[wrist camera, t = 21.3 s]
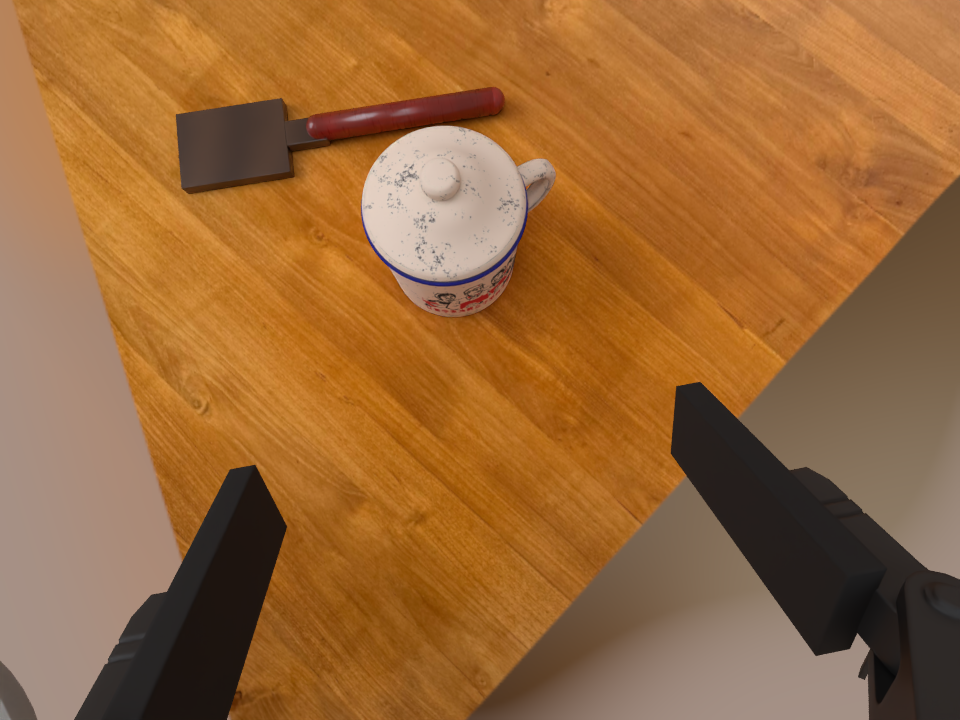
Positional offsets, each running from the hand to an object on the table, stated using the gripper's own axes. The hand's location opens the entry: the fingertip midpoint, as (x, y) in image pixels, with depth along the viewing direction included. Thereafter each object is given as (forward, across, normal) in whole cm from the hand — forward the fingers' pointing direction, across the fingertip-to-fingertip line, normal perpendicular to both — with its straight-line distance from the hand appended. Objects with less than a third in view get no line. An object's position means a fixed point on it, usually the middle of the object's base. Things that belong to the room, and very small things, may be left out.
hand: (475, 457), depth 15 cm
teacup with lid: (+22, +2, 0) cm, 22 cm away
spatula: (+29, -6, +9) cm, 31 cm away
